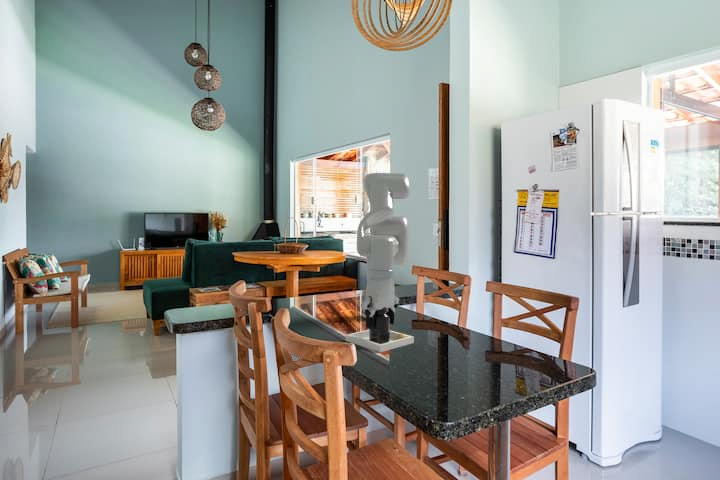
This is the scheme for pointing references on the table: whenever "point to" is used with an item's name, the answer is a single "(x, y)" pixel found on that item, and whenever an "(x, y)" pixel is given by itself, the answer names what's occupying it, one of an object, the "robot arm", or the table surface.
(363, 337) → the tray
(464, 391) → the table surface
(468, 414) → the table surface
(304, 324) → the table surface
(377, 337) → the supplement bottle
